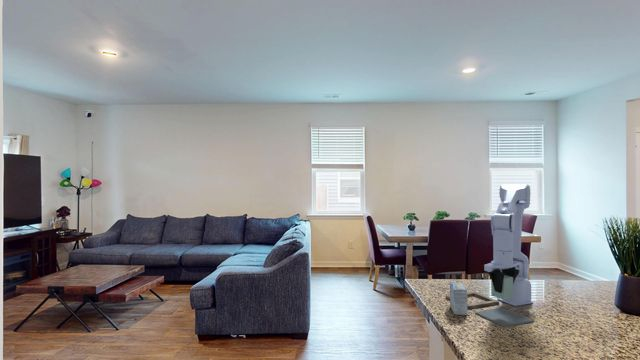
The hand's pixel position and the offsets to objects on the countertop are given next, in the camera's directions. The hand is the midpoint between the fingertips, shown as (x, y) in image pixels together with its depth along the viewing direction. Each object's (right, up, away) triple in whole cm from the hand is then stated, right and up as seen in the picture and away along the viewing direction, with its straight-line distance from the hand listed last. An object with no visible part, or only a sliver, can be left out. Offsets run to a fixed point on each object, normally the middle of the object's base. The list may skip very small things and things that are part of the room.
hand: (503, 291), depth 114 cm
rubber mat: (0, -9, 0) cm, 9 cm away
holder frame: (-4, -9, +16) cm, 18 cm away
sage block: (0, -2, 0) cm, 2 cm away
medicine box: (-12, -9, +6) cm, 16 cm away
